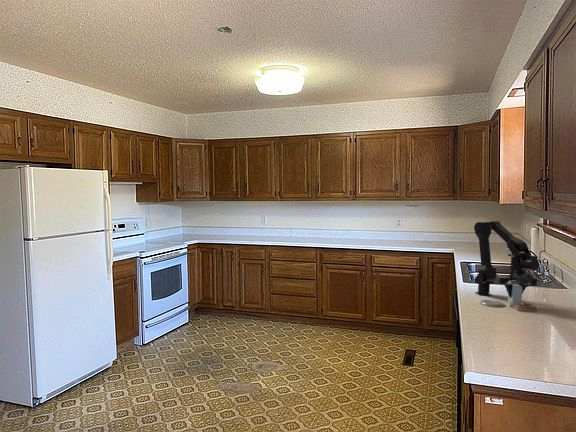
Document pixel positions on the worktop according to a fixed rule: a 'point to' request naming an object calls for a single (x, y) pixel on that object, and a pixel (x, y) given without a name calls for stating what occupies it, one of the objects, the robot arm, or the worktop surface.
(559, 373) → the worktop surface
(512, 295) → the slate block
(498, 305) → the charcoal trivet
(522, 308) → the walnut bay
